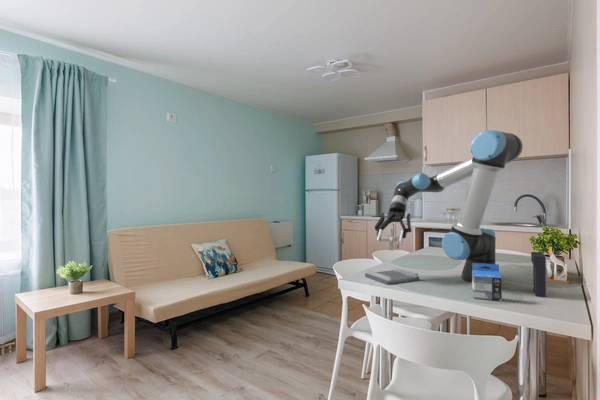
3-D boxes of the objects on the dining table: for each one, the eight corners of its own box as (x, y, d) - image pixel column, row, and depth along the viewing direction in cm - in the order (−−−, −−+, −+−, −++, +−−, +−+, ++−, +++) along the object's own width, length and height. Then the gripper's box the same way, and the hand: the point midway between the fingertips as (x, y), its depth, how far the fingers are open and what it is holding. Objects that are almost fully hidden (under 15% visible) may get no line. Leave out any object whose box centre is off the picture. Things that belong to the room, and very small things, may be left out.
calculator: (548, 297, 118) (547, 256, 118) (533, 296, 120) (533, 255, 120) (545, 290, 127) (544, 252, 127) (531, 289, 129) (531, 251, 130)
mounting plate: (419, 280, 145) (419, 273, 145) (386, 284, 138) (386, 277, 138) (395, 272, 160) (395, 266, 160) (364, 276, 153) (364, 270, 153)
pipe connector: (400, 248, 154) (400, 227, 154) (404, 251, 144) (404, 229, 144) (379, 248, 155) (378, 227, 155) (382, 251, 145) (381, 229, 145)
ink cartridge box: (473, 298, 117) (473, 264, 117) (472, 295, 121) (471, 262, 121) (502, 301, 114) (501, 266, 114) (499, 298, 118) (499, 264, 118)
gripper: (423, 212, 157) (415, 249, 143) (378, 211, 169) (367, 245, 155) (420, 201, 152) (412, 238, 139) (374, 201, 164) (363, 235, 151)
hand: (389, 242), depth 147 cm, fingers closed on pipe connector, 9 cm apart
